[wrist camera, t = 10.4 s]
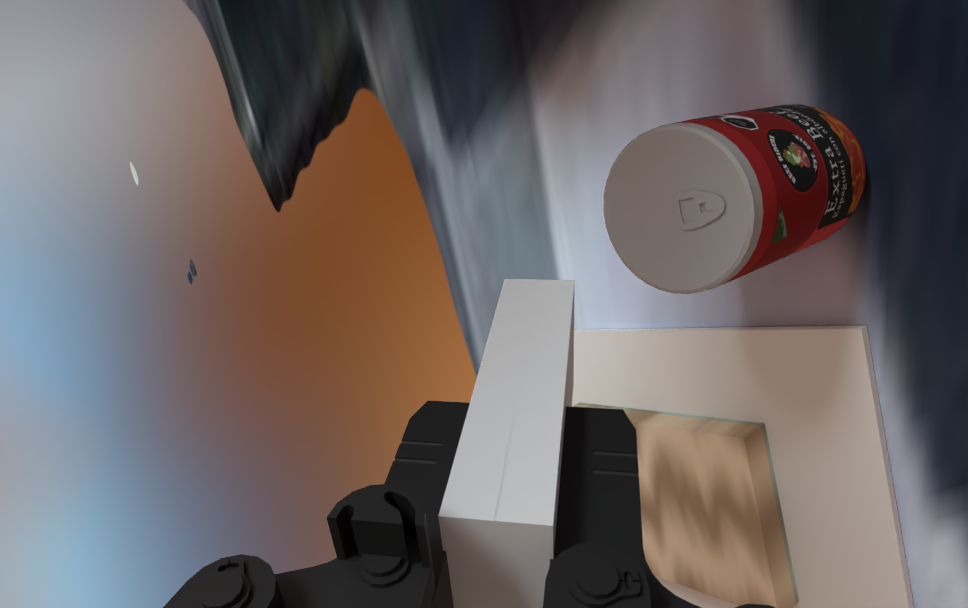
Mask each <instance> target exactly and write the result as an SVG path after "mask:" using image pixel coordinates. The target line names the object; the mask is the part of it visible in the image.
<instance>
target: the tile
mask: <svg viewBox="0 0 968 608" xmlns="http://www.w3.org/2000/svg"><path fill="white" fill-rule="evenodd" d="M572 407H587V408H606V409H623V410H624V412H625V413H626V415H627V416H628V418H629V419H630V421H631V423H632V424H633V426H634V427H635V429H636V434H637V451H638V468H639V485H640V502H641V520H642V537H643V550H644V554H645V559H646V562H647V564H648V566H649V568H650V570H651V572H652V573H653V575H654V576H657V577H660V578H663V579H665V580H668V581H671V582H674V583H676V584H679V585H682V586H685V587H687V588H690V589H693V590H695V591H698V592H701V593H704V594H706V595H709V596H712V597H715V598H717V599H720V600H723V601H725V602H728V603H731V604H734V605H736V606H741V605H744V604H761V605H770V606H773V607H775V608H793V607H794V606H795V605H796V604H797V603H798V601H799V598H798V593H797V588H796V583H795V577H794V572H793V567H792V562H791V557H790V551H789V546H788V541H787V536H786V531H785V525H784V520H783V515H782V510H781V505H780V499H779V494H778V489H777V484H776V479H775V474H774V468H773V463H772V458H771V453H770V448H769V442H768V437H767V432H766V427H765V423H757V422H749V421H740V420H731V419H722V418H713V417H704V416H695V415H687V414H678V413H669V412H660V411H651V410H642V409H633V408H624V407H616V406H607V405H598V404H589V403H578V404H576V405H574V406H572Z"/></svg>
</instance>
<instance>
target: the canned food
mask: <svg viewBox="0 0 968 608" xmlns="http://www.w3.org/2000/svg"><path fill="white" fill-rule="evenodd" d="M865 178H866V167H865V159H864V155H863V152H862V148H861V146H860V144H859V142H858V141H857V139H856V137H855V135H854V134H853V133H852V132H851V131H850V129H849V128H848V127H847V126H846V125H845V124H844V123H842V122H841V121H839V120H838V119H837V118H835V117H834V116H832V115H831V114H829V113H827V112H824V111H822V110H820V109H817V108H815V107H810V106H805V105H781V106H774V107H768V108H762V109H755V110H749V111H743V112H736V113H730V114H724V115H717V116H711V117H704V118H698V119H692V120H687V121H682V122H677V123H672V124H667V125H663V126H660V127H657V128H654V129H652V130H649V131H647V132H645V133H643V134H641V135H639V136H638V137H637V138H635V139H634V140H633V141H631V142H630V143H629V144H628V145H627V146H626V147H625V148H624V149H623V151H622V152H621V153H620V154H619V155H618V157H617V159H616V161H615V162H614V164H613V166H612V168H611V170H610V173H609V176H608V179H607V182H606V187H605V193H604V216H605V223H606V227H607V231H608V234H609V237H610V240H611V242H612V244H613V246H614V248H615V250H616V252H617V254H618V255H619V257H620V258H621V260H622V261H623V263H624V264H625V265H626V266H627V267H628V268H629V269H630V270H631V271H632V272H633V273H634V274H635V275H636V276H637V277H638V278H640V279H641V280H643V281H644V282H645V283H647V284H649V285H651V286H653V287H655V288H657V289H659V290H663V291H667V292H671V293H682V294H690V293H695V292H700V291H704V290H709V289H712V288H714V287H717V286H719V285H722V284H725V283H727V282H729V281H732V280H734V279H736V278H739V277H741V276H743V275H745V274H748V273H750V272H752V271H754V270H757V269H759V268H761V267H763V266H766V265H768V264H770V263H772V262H775V261H777V260H779V259H781V258H784V257H786V256H788V255H790V254H793V253H795V252H797V251H799V250H801V249H804V248H806V247H808V246H810V245H813V244H815V243H817V242H819V241H822V240H824V239H826V238H827V237H829V236H830V235H832V234H833V233H835V232H836V231H837V230H838V229H839V228H840V227H841V226H842V225H843V224H844V223H845V222H846V221H847V220H848V219H849V217H850V216H851V214H852V213H853V211H854V210H855V208H856V207H857V205H858V203H859V200H860V198H861V195H862V192H863V190H864V185H865Z"/></svg>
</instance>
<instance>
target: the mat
mask: <svg viewBox="0 0 968 608" xmlns="http://www.w3.org/2000/svg"><path fill="white" fill-rule="evenodd" d="M578 403H589V404H598V405H607V406H616V407H624V408H633V409H642V410H651V411H660V412H669V413H678V414H687V415H695V416H704V417H713V418H722V419H731V420H740V421H749V422H757V423H765V427H766V432H767V437H768V442H769V448H770V453H771V458H772V463H773V468H774V474H775V479H776V484H777V489H778V494H779V499H780V505H781V510H782V515H783V520H784V525H785V531H786V536H787V541H788V546H789V551H790V557H791V562H792V567H793V572H794V577H795V583H796V588H797V593H798V598H799V601H798V603H797V604H796V605H795V606H794V607H793V608H914V604H913V598H912V592H911V586H910V581H909V575H908V569H907V563H906V557H905V551H904V545H903V539H902V533H901V527H900V521H899V516H898V510H897V504H896V498H895V492H894V486H893V480H892V474H891V468H890V462H889V456H888V450H887V445H886V439H885V433H884V427H883V421H882V415H881V409H880V403H879V397H878V391H877V385H876V379H875V374H874V368H873V362H872V356H871V350H870V344H869V338H868V332H867V326H797V327H725V328H654V329H583V330H574V383H573V398H572V406H574V405H576V404H578ZM655 577H656V578H657V579H658V580H659V582H660V583H661V584H662V585H663V586H664V587H666V588H667V589H668V590H669V591H671V592H672V593H673V594H675V595H676V596H678V597H680V598H682V599H684V600H686V601H688V602H690V603H692V604H694V605H697V606H699V607H702V608H735V607H738V606H736V605H734V604H731V603H728V602H725V601H723V600H720V599H717V598H715V597H712V596H709V595H706V594H704V593H701V592H698V591H695V590H693V589H690V588H687V587H685V586H682V585H679V584H676V583H674V582H671V581H668V580H665V579H663V578H660V577H657V576H655Z"/></svg>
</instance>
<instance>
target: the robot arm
mask: <svg viewBox="0 0 968 608" xmlns="http://www.w3.org/2000/svg"><path fill="white" fill-rule="evenodd" d="M573 383H574V280H527V279H505V280H504V283H503V287H502V290H501V294H500V297H499V301H498V305H497V308H496V312H495V315H494V319H493V322H492V326H491V330H490V333H489V337H488V340H487V344H486V347H485V351H484V355H483V358H482V362H481V365H480V369H479V372H478V376H477V380H476V383H475V387H474V390H473V394H472V397H471V401H470V403H461V402H460V403H459V402H442V401H427V402H426V403H425V404H424V405H423V406H422V407H421V408H420V409H419V410H418V411H417V412H416V413H415V414H414V415H413V416H412V417H411V418H410V420H409V422H408V425H407V428H406V430H405V433H404V435H403V438H402V443H401V444H400V445H399V448H398V451H397V453H396V456H395V461H393V463H392V466H391V468H390V471H389V474H388V476H387V479H386V481H385V484H382V485H370V486H368V487H365V488H362V489H359V490H356V491H354V492H352V493H350V494H349V495H347V496H346V497H345V498H343V499H342V500H341V501H339V502H338V503H337V504H336V505H335V507H334V508H333V509H332V511H331V512H330V514H329V515H328V516H327V521H328V524H329V528H330V532H331V535H332V540H333V543H334V547H335V551H336V555H337V558H336V559H334V560H332V561H330V562H328V563H324V564H321V565H318V566H315V567H310V568H305V569H300V570H295V571H290V572H285V573H280V574H274V573H273V571H272V568H271V566H270V565H269V564H268V563H266V562H265V561H263V560H262V559H260V558H259V557H255V556H249V555H236V556H231V557H226V558H222V559H220V560H218V561H215V562H213V563H211V564H209V565H207V566H205V567H203V568H202V569H201V570H200V571H199V572H197V573H196V574H195V575H194V576H193V577H192V578H190V579H189V580H188V581H187V582H186V583H185V584H184V585H183V586H182V587H181V589H180V590H179V591H178V592H177V593H176V594H175V595H174V596H173V597H172V598H171V600H170V601H169V602H168V603H167V604H166V605H165V606H164V607H163V608H702V607H699V606H697V605H694V604H692V603H690V602H688V601H686V600H684V599H682V598H680V597H678V596H676V595H675V594H673V593H672V592H671V591H669V590H668V589H667V588H666V587H664V586H663V585H662V584H661V583H660V582H659V580H658V579H657V578H656V577H655V576H654V575H653V573H652V572H651V570H650V568H649V566H648V564H647V562H646V559H645V554H644V550H643V537H642V520H641V502H640V485H639V468H638V451H637V434H636V429H635V427H634V426H633V424H632V423H631V421H630V419H629V418H628V416H627V415H626V413H625V412H624V410H623V409H606V408H587V407H572V398H573ZM735 608H775V607H773V606H770V605H761V604H744V605H741V606H738V607H735Z"/></svg>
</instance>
